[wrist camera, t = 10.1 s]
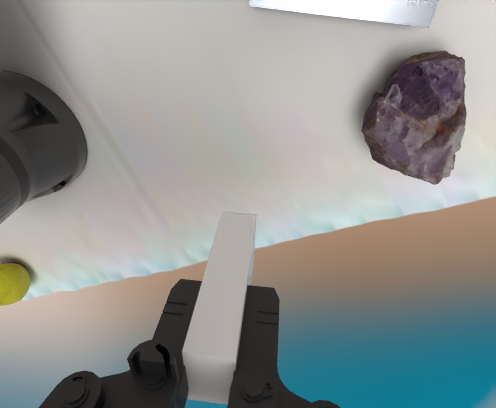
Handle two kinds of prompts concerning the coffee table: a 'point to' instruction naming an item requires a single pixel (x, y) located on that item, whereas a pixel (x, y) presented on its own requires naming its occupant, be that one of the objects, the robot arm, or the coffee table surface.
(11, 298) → the fruit
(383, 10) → the rail
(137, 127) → the coffee table surface
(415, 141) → the rock
